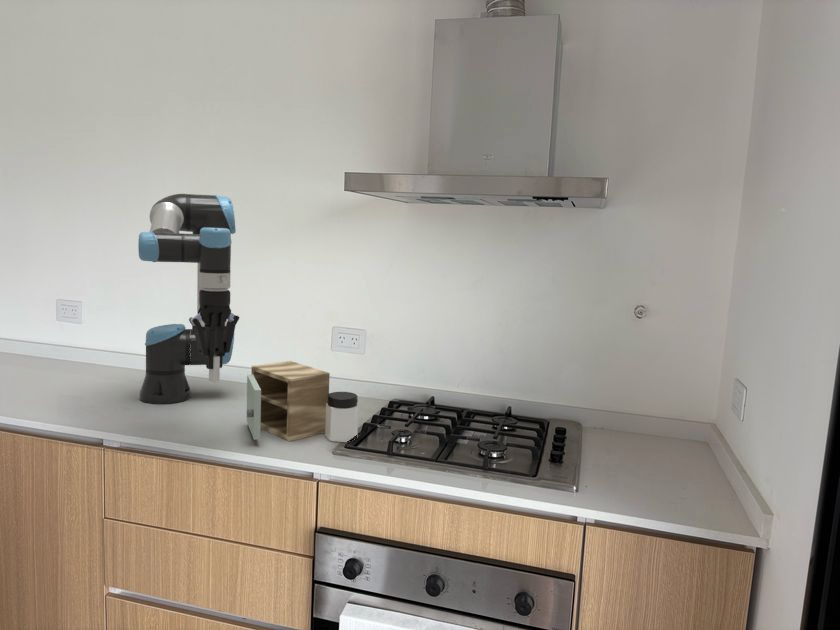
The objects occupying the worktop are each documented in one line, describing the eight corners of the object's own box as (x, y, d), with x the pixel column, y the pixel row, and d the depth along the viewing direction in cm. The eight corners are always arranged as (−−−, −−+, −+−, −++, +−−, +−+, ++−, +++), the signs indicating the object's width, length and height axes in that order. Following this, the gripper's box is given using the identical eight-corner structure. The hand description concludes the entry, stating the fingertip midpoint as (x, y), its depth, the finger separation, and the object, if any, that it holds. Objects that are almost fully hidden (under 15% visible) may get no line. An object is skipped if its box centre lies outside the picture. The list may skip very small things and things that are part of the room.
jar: (361, 441, 181) (362, 398, 180) (332, 444, 178) (333, 400, 176) (349, 431, 189) (351, 390, 188) (322, 434, 186) (323, 392, 184)
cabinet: (250, 423, 191) (251, 365, 189) (288, 415, 201) (289, 360, 198) (289, 441, 178) (290, 379, 176) (327, 431, 188) (329, 373, 185)
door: (240, 419, 189) (241, 374, 188) (251, 418, 191) (252, 373, 189) (248, 440, 173) (248, 390, 171) (260, 439, 174) (261, 390, 172)
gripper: (198, 291, 161) (197, 387, 164) (245, 289, 170) (244, 380, 173) (183, 288, 166) (183, 381, 169) (230, 287, 175) (229, 375, 178)
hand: (214, 380), depth 171 cm, fingers closed
